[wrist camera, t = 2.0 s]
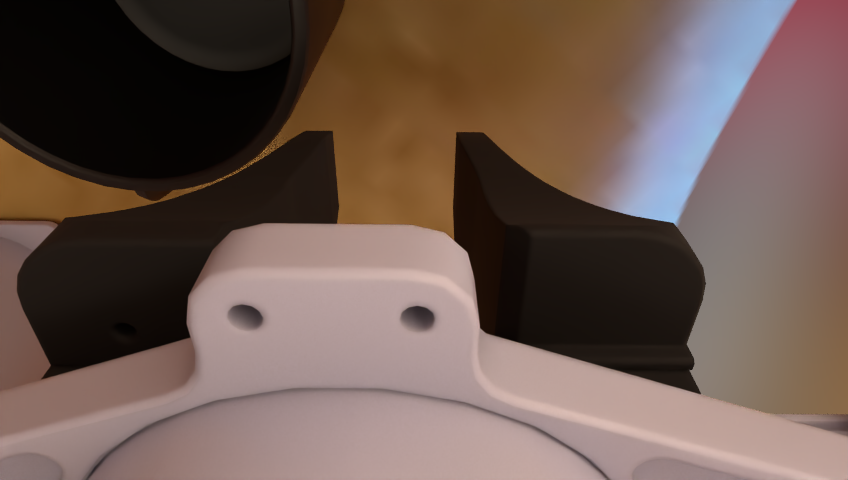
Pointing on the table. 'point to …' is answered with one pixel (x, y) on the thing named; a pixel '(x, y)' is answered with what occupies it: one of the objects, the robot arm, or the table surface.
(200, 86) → the mug
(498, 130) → the table surface
